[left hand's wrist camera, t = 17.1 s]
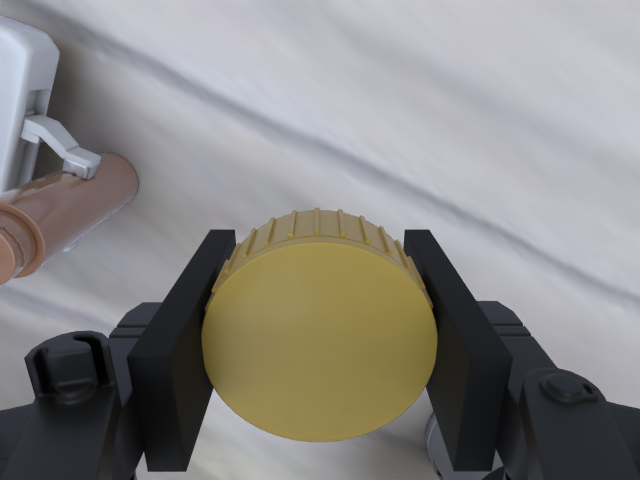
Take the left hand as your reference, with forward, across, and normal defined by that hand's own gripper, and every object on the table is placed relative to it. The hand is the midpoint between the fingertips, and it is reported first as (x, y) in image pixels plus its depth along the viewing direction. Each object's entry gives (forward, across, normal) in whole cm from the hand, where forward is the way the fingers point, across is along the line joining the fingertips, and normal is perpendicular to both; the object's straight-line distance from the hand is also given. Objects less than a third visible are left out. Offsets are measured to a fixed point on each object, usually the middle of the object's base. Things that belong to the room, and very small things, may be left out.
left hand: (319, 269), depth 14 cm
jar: (+25, +18, +3) cm, 31 cm away
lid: (-4, 0, 0) cm, 4 cm away
